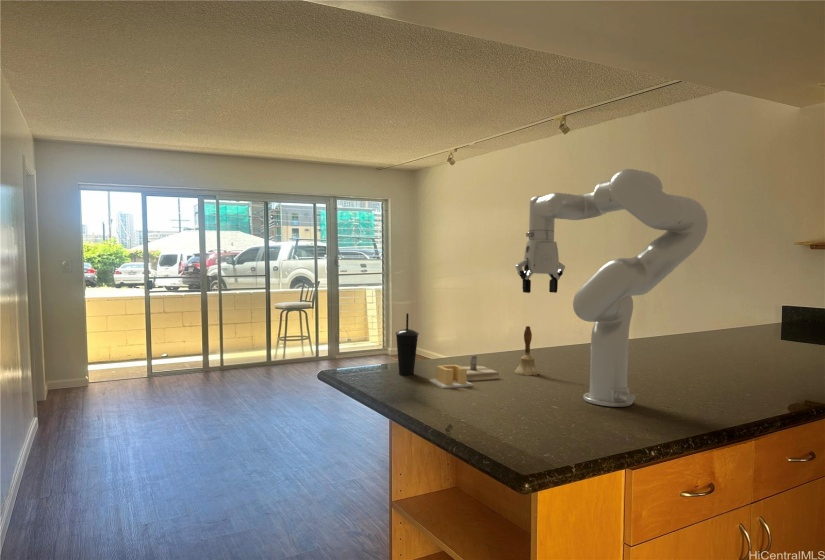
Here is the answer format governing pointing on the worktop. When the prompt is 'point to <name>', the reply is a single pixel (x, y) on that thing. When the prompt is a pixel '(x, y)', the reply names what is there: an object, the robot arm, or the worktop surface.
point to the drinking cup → (406, 349)
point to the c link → (451, 374)
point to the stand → (479, 371)
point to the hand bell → (527, 357)
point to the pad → (451, 384)
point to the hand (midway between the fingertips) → (540, 292)
